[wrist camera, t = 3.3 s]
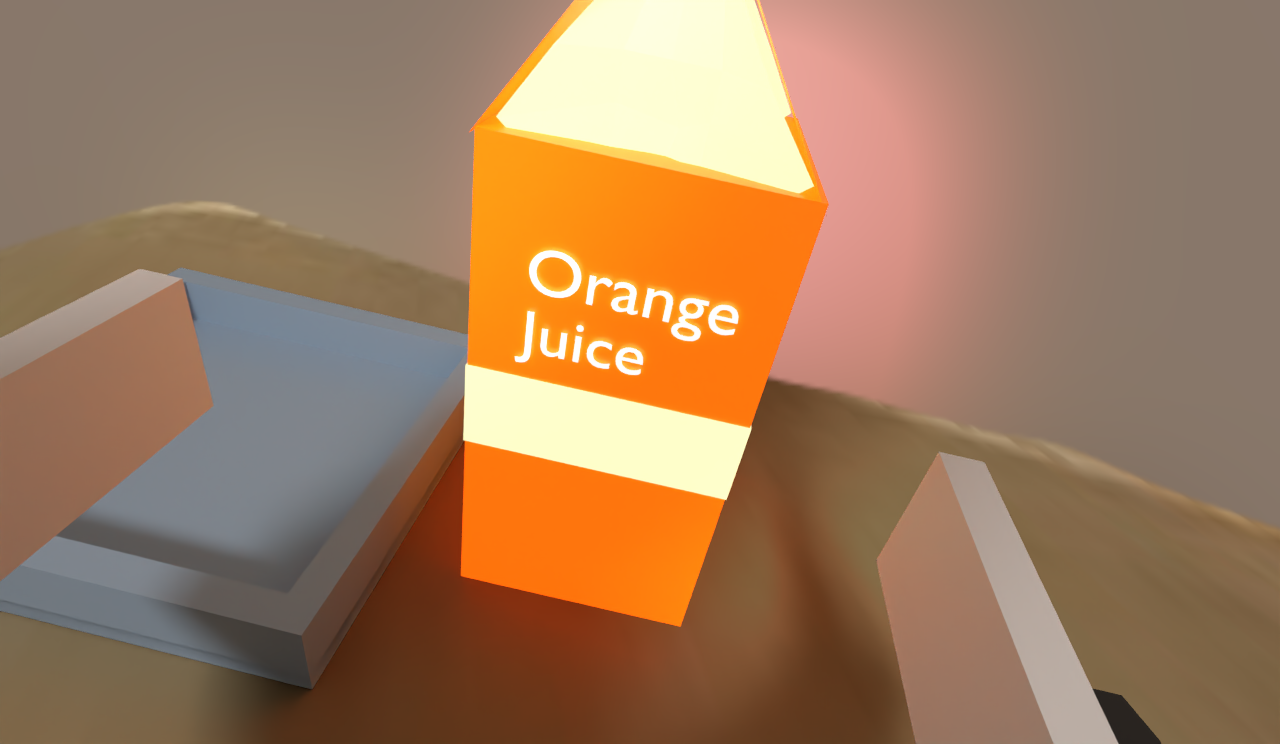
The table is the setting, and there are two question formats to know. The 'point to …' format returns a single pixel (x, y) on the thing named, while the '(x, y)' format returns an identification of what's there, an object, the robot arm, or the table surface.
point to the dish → (264, 488)
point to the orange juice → (627, 296)
